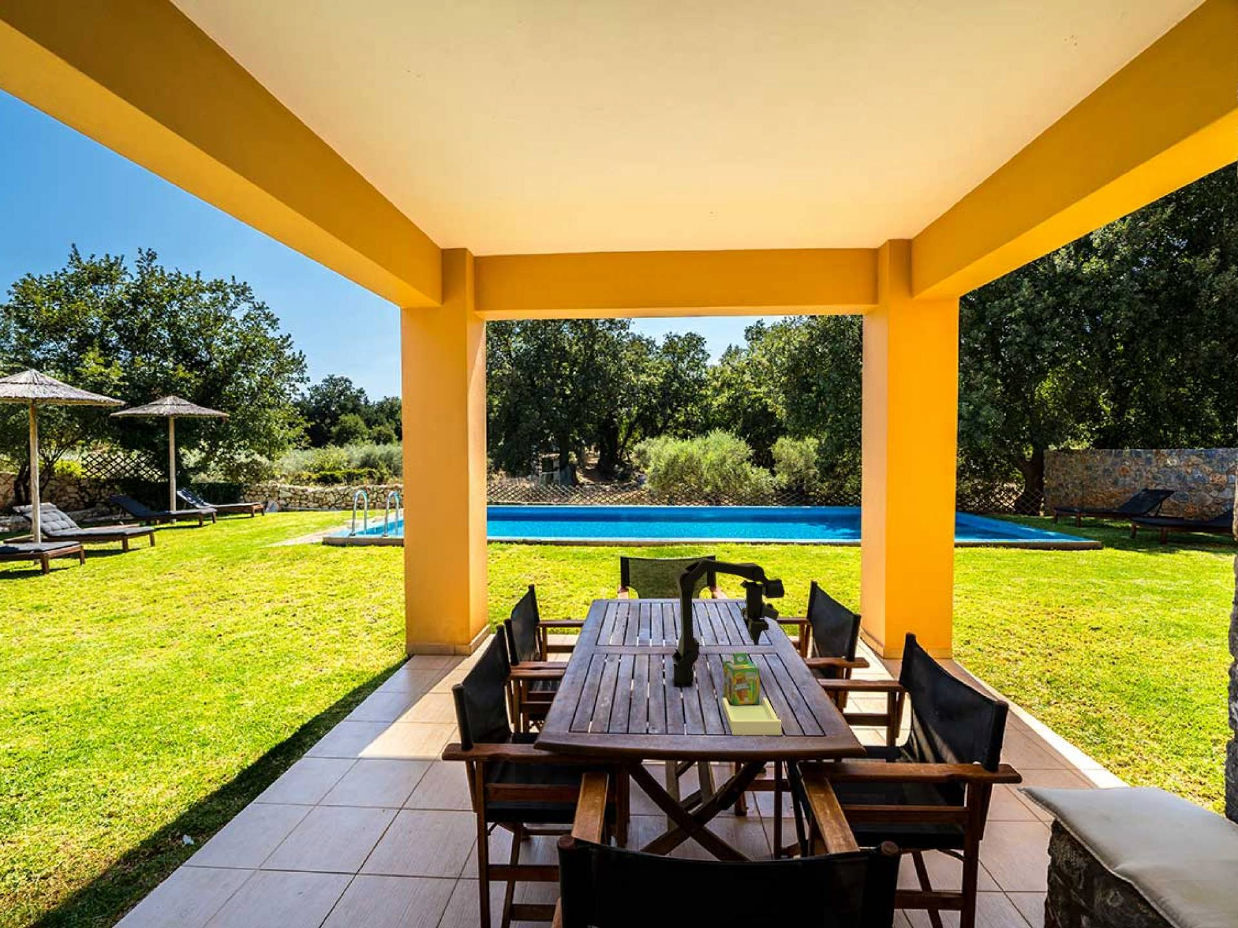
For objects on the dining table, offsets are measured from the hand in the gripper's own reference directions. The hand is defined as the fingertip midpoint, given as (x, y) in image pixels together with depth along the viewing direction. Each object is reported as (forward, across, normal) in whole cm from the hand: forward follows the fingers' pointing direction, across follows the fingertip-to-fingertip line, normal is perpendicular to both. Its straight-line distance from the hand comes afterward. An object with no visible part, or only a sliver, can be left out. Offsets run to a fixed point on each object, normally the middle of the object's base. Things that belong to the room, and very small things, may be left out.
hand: (754, 642), depth 210 cm
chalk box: (+13, -18, +8) cm, 24 cm away
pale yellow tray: (+13, -31, +8) cm, 35 cm away
